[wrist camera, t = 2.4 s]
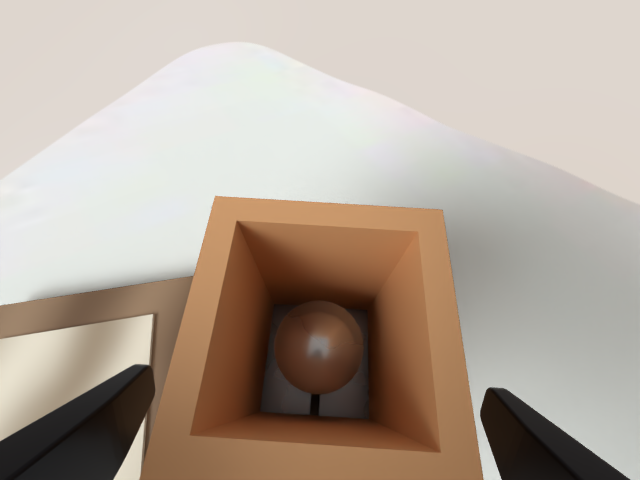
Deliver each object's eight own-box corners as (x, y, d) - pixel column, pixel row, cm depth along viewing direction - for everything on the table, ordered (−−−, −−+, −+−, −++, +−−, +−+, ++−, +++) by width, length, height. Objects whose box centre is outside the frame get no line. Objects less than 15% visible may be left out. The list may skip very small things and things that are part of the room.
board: (377, 256, 20) (382, 245, 19) (439, 472, 15) (453, 481, 13) (11, 313, 18) (-16, 306, 17) (-69, 590, 13) (-120, 616, 11)
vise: (381, 440, 14) (427, 473, 9) (182, 427, 14) (94, 449, 9) (377, 304, 17) (409, 260, 12) (213, 294, 17) (162, 244, 12)
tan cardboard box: (386, 440, 12) (487, 505, 5) (240, 430, 12) (138, 481, 5) (381, 297, 15) (442, 209, 8) (261, 289, 15) (215, 196, 8)
